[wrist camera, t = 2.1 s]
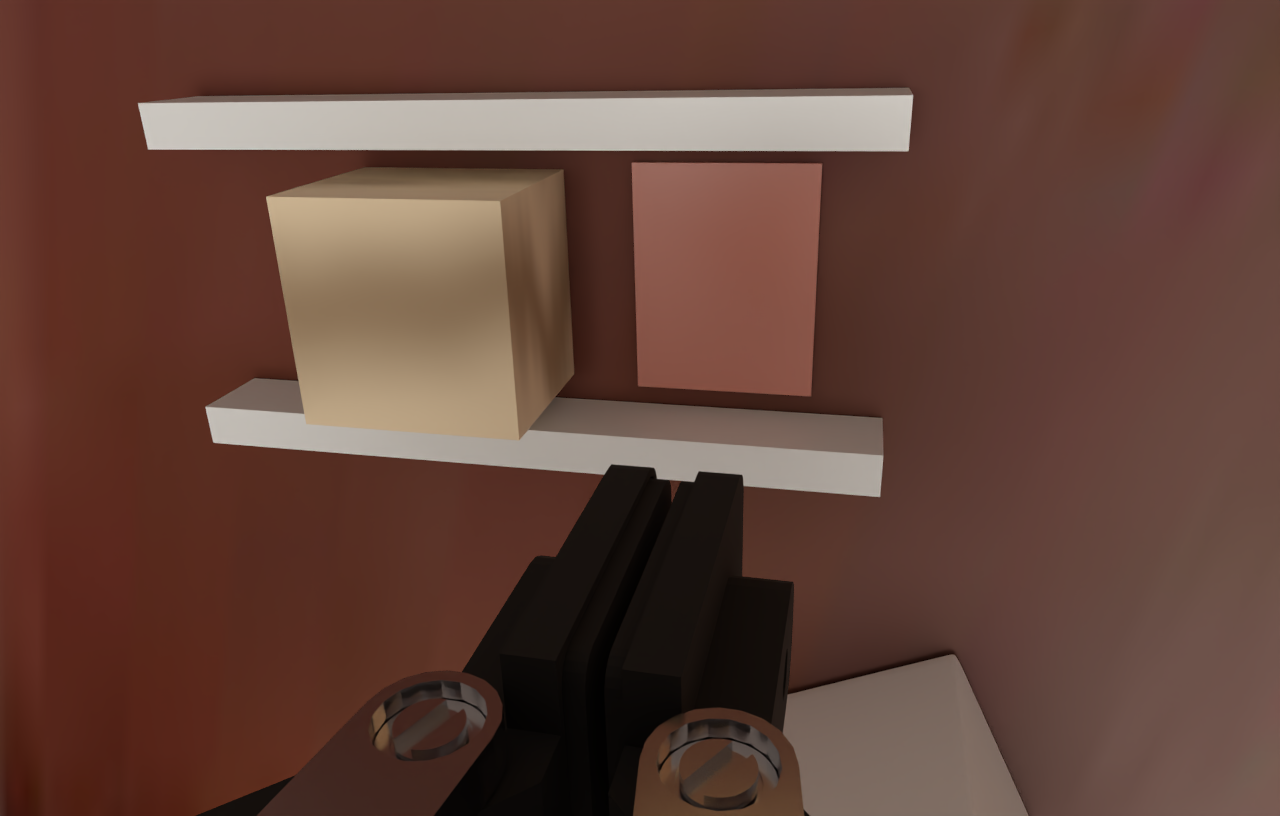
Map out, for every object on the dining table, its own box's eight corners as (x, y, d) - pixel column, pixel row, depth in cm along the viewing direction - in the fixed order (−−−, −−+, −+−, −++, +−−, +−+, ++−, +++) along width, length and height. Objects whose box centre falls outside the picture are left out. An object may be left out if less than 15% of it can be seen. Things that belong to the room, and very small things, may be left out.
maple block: (575, 372, 28) (518, 440, 23) (392, 361, 29) (306, 424, 25) (565, 168, 26) (499, 200, 21) (367, 166, 27) (266, 197, 22)
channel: (879, 456, 27) (880, 497, 24) (261, 411, 31) (213, 442, 29) (908, 88, 23) (913, 94, 20) (199, 96, 27) (137, 103, 25)
